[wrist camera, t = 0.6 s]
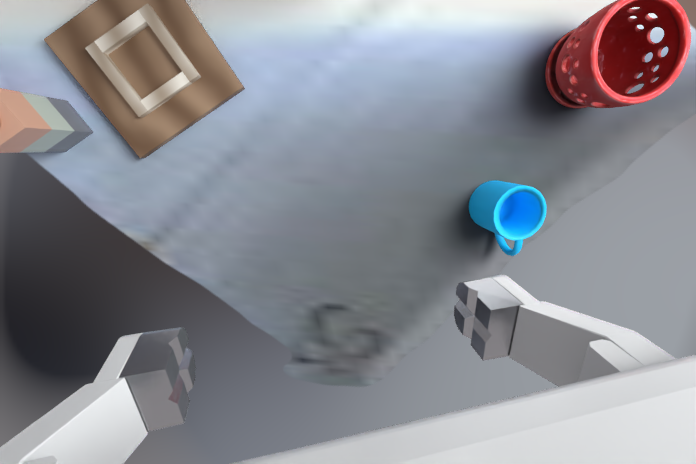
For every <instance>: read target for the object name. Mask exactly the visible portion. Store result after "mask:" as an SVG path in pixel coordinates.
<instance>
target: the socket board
mask: <svg viewBox="0 0 696 464" xmlns="http://www.w3.org/2000/svg"><path fill="white" fill-rule="evenodd" d="M44 41H45V42H46V43H47V44H48V45H49V47H50V48H51V49H52V50H53V52H54V53H55V54H56V55H57V57H58V58H59V59H60V60H61V61H62V63H63V64H64V65H65V66H66V68H67V69H68V70H69V71H70V73H71V74H72V75H73V76H74V77H75V79H76V80H77V81H78V82H79V84H80V85H81V86H82V87H83V89H84V90H85V91H86V92H87V93H88V95H89V96H90V97H91V98H92V100H93V101H94V102H95V103H96V105H97V106H98V107H99V108H100V109H101V111H102V112H103V113H104V114H105V116H106V117H107V118H108V119H109V121H110V122H111V123H112V124H113V125H114V127H115V128H116V129H117V130H118V132H119V133H120V134H121V135H122V137H123V138H124V139H125V140H126V141H127V143H128V144H129V145H130V146H131V148H132V149H133V150H134V151H135V153H136V154H137V155H138V156H139V157H140V158H146V157H147V156H148V155H150V154H151V153H153V152H154V151H156V150H157V149H159V148H160V147H161V146H163V145H164V144H166V143H167V142H169V141H170V140H172V139H173V138H174V137H176V136H177V135H179V134H180V133H182V132H183V131H185V130H186V129H187V128H189V127H190V126H192V125H193V124H195V123H196V122H198V121H199V120H201V119H202V118H203V117H205V116H206V115H208V114H209V113H211V112H212V111H214V110H215V109H216V108H218V107H219V106H221V105H222V104H224V103H225V102H227V101H228V100H229V99H231V98H232V97H234V96H235V95H237V94H238V93H240V92H241V91H242V90H244V89H245V88H244V87H243V85H242V84H241V82H240V81H239V79H238V78H237V76H236V75H235V73H234V72H233V70H232V69H231V67H230V66H229V65H228V63H227V62H226V60H225V59H224V57H223V56H222V54H221V53H220V51H219V50H218V48H217V47H216V45H215V44H214V42H213V41H212V39H211V38H210V37H209V35H208V34H207V32H206V31H205V29H204V28H203V26H202V25H201V23H200V22H199V20H198V19H197V17H196V16H195V14H194V13H193V11H192V10H191V9H190V7H189V6H188V4H187V3H186V1H185V0H97V1H96V2H95V3H93V4H92V5H90V6H89V7H88V8H86V9H85V10H84V11H82V12H81V13H79V14H78V15H77V16H75V17H74V18H73V19H71V20H70V21H68V22H67V23H66V24H64V25H63V26H62V27H60V28H59V29H57V30H56V31H55V32H53V33H52V34H50V35H49V36H48V37H46V38H45V39H44Z"/></svg>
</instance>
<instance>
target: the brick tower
mask: <svg viewBox="0 0 696 464" xmlns="http://www.w3.org/2000/svg"><path fill="white" fill-rule="evenodd" d="M92 133H93V131H92V130H91V129H90V128H89V126H88V125H87V124H86V123H85V122H84V120H83V119H82V118H81V117H80V116H79V114H78V113H77V112H76V111H75V110H74V108H73V107H72V106H71V105H70V104H69V102H68V101H65V100H60V99H55V98H49V97H44V96H39V95H34V94H28V93H23V92H18V91H12V90H7V89H2V88H0V153H23V152H66V151H67V150H69V149H70V148H72V147H73V146H75V145H76V144H77V143H79V142H80V141H82V140H83V139H85V138H86V137H87V136H89V135H90V134H92Z"/></svg>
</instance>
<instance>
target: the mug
mask: <svg viewBox="0 0 696 464" xmlns="http://www.w3.org/2000/svg"><path fill="white" fill-rule="evenodd" d="M469 212H470V216H471V218H472V219H473V221H474V222H475V223H476V224H478V225H479V226H481V227H483V228H485V229H487V230H490V231H492V232H494V233H495V237H496V240H497V242H498V244H499V246H500V248H501V249H502V251H503V252H505V253H506V254H507V255H511V256H514V255H516V254H518V253H519V252H520V250H521V248H522V243H523V239H525V238H528V237H530V236H532V235H533V234H534V233H535V232H537V231H538V230H539V228H540V227H541V225H542V224H543V222H544V219H545V216H546V203H545V199H544V197H543V196H542V194H541V193H540V192H539V191H538V190H536V189H535V188H533V187H529V186H525V185H519V184H514V183H508V182H503V181H497V180H495V181H488V182H485V183H483V184H481V185H480V186H479V187H478V188H476V190H475V191H474V192H473V194H472V195H471V198H470V201H469ZM504 238H507V239H511V240H515V243H514V248H513V250H512V249H511V248H509V246H508V245H507V244H506V242H505V240H504Z"/></svg>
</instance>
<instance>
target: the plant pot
mask: <svg viewBox="0 0 696 464" xmlns="http://www.w3.org/2000/svg"><path fill="white" fill-rule="evenodd" d="M632 7H640V8H639V9H630V8H632ZM648 13H655V14H656V15H657V17H658V18H651V17H649V16H648ZM630 16H636V17H637V18H635V19H632V18H630ZM637 25H643V26H644V29H638V28H637ZM655 27H660V28H662V29H663V30H664V37H663V39H662V40H661V41H660V42H659V43H653V42H652V41H651V39H650V32H651V30H652V29H653V28H655ZM690 42H691V32H690V25H689V21H688V18H687V15H686V13H685V11H684V9H683V8H682V7H681V5H680V4H679V3H678V2H677V1H676V0H617V1H615V2H613V3H611V4H610V5H608V6H606V7H604V8H603V9H601V10H600V11H598V12H597V13H595V14H594V15H593V16H591V17H590V18H588V19H587V20H586V21H584V22H583V23H582V24H581V25H580V26H579V27H578V28H576V29H574V30H572V31H570V32H569V33H567V34H566V35H564V36H563V37H562V38H561V39H560V40H559V41H558V42H557V44H556V45H555V46H554V48H553V49H552V51H551V53H550V55H549V58H548V61H547V65H546V72H545V77H546V84H547V87H548V90H549V92H550V94H551V95H552V96H553V98H554V99H555V100H556V101H557V102H559V103H560V104H562V105H564V106H566V107H570V108H585V107H595V108H613V107H622V106H629V105H634V104H639V103H643V102H646V101H648V100H651V99H653V98H655V97H657V96H658V95H660V94H661V93H663V92H664V91H665V90H666V89H667V88H668V87H670V85H671V84H672V83H673V82H674V81H675V79H676V78H677V77H678V75H679V74H680V72H681V70H682V68H683V66H684V64H685V62H686V59H687V57H688V53H689V49H690ZM666 46H667V47H668V49H669V50H668V53H667V55H666V56H665V57H661V51H662V49H663V48H664V47H666ZM649 52H652V53H653V58H652V59H651V61H649V62H647V63H646V62H645V60H644V58H645V56H646V54H648V53H649ZM657 65H659V68H658V70H657V71H655V72H653V70H654V68H655V67H656V66H657ZM642 72H643V75H642V77H640V78H638V79H637V76H638V75H639V74H640V73H642ZM657 77H659V78H658V79H657V81H655V82H653V80H654V79H656V78H657ZM652 82H653V83H652ZM638 84H644V86H643V87H642V88H641V89H640V90H638V91H636V92H634V93H631V94H627V92H628V91H629V90H630V89H632V88H633V87H634V86H636V85H638Z"/></svg>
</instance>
